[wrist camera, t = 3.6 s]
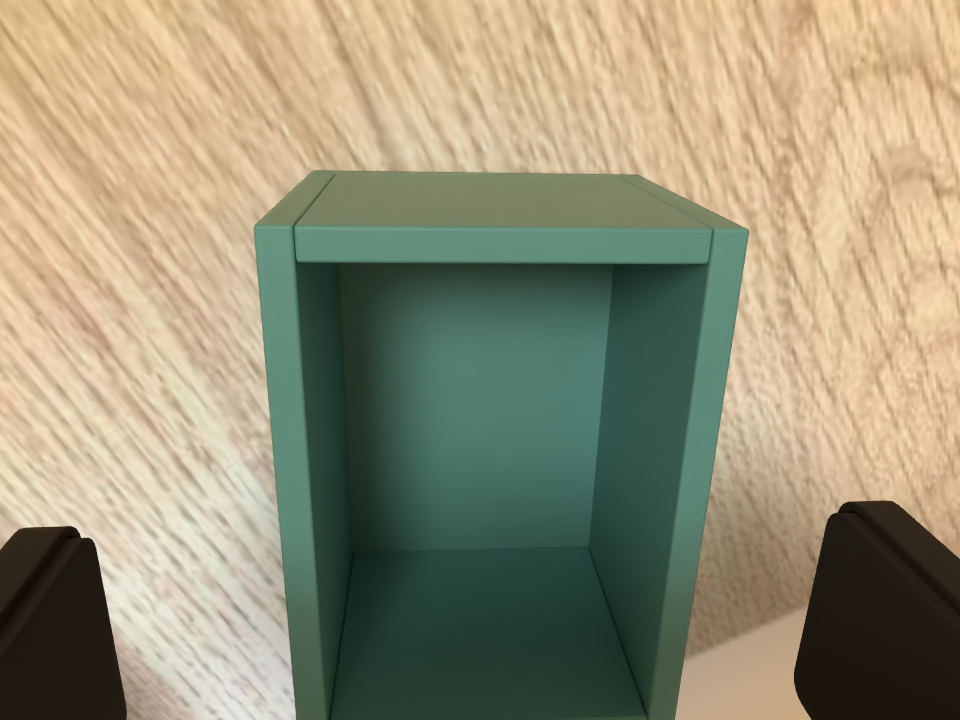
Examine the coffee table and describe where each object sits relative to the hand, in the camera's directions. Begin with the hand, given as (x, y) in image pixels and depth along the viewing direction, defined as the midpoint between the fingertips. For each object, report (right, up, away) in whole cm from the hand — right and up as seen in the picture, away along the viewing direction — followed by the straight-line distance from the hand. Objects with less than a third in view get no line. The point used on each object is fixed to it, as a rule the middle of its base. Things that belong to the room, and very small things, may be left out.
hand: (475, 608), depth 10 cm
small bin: (0, +3, +7) cm, 7 cm away
